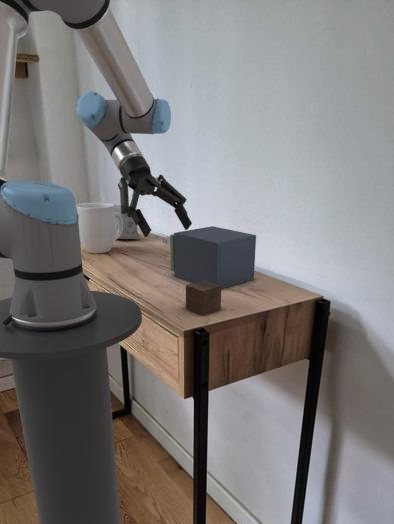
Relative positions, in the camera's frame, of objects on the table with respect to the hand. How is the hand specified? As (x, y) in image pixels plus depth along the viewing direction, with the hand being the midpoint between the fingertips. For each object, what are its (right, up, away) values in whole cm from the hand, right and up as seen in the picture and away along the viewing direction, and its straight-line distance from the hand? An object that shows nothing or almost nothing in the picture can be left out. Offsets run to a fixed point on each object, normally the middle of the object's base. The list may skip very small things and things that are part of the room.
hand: (169, 230), depth 124 cm
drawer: (+8, -11, -4) cm, 14 cm away
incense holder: (-17, +5, +34) cm, 38 cm away
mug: (-21, -2, +18) cm, 28 cm away
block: (+8, -23, -27) cm, 37 cm away
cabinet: (+11, -13, -7) cm, 19 cm away
